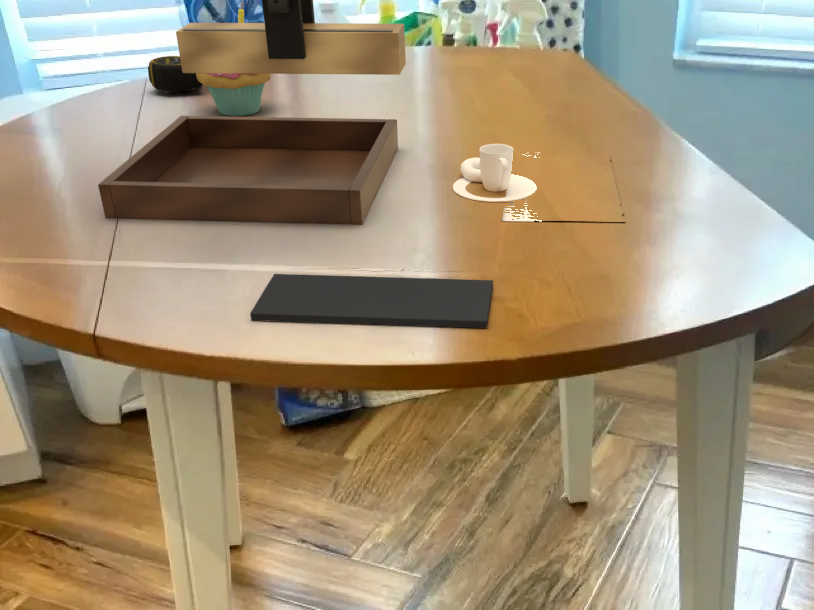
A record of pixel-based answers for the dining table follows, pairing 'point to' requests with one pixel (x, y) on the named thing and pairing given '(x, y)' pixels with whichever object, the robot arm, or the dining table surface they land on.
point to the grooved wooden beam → (325, 54)
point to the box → (255, 171)
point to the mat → (375, 301)
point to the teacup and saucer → (496, 179)
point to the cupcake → (235, 88)
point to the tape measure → (171, 75)
